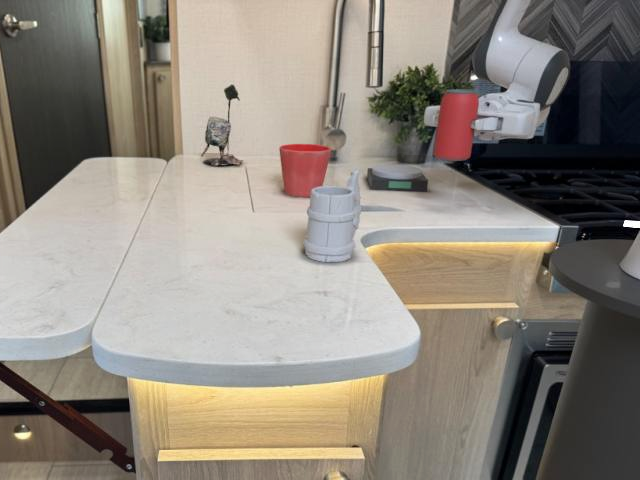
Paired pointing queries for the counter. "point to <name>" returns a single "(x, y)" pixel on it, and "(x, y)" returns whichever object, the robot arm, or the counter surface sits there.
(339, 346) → the counter surface
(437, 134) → the beer can
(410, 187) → the kitchen scale
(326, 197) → the mug
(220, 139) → the grey tall irregular piece
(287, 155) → the flower pot
